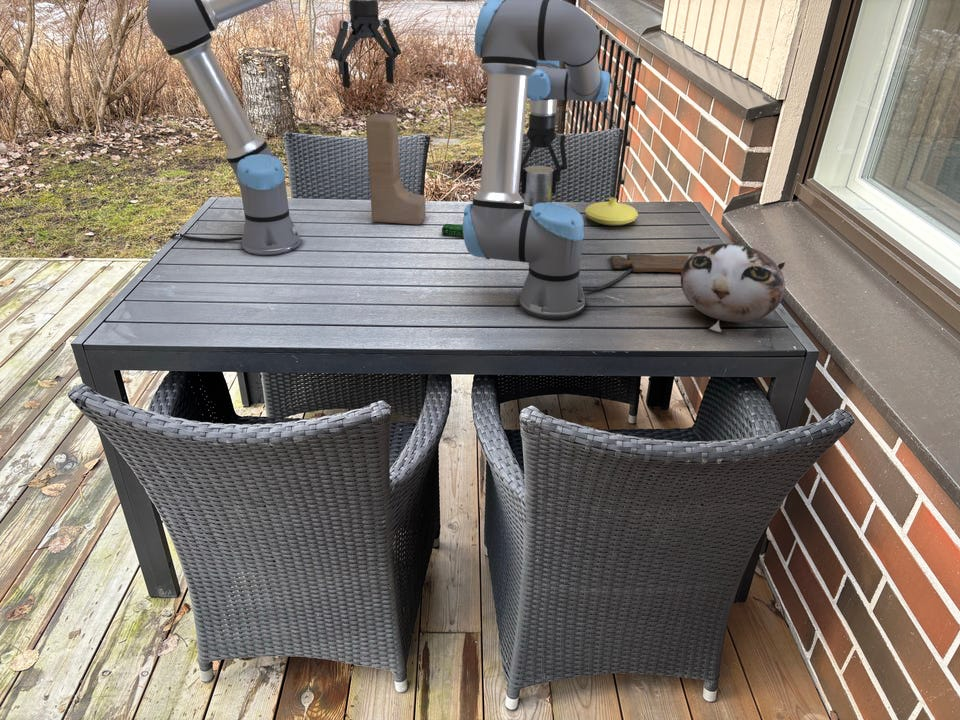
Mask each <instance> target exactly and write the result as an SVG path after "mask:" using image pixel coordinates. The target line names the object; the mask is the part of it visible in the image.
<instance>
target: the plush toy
mask: <svg viewBox="0 0 960 720" xmlns="http://www.w3.org/2000/svg"><path fill="white" fill-rule="evenodd" d="M785 265H786V262H780V263H778V264H777V263H776V262H775V261H774V260H773V259H772V258H771V257H770V256H768V255H767V254H765V253H764V252H762V251H761V250H759V249H756V248H754V247H750V246H749V245H748V246H747V245H744V244H738V243H719V244H718V243H717V244H713V245H710V246H707V247H704V248H701V247H700V246H697V248H696V252H695V253H693V255H691V256H689V257H688V261H687V262H686V263H685V265H684V267H683V269H682V273H681V272H680V286H681V290H682V293H683V294H684V296H685V298H686V300H687V301H688V302H689V303H690V304H691V306H693V307H694V308H695V309H696V310H697V311H699V312H701V313H702V314H704V315H706V316H708V317H709V318H712V319H715V320H717V322H716V323H715V324H714V325H713V326H710V327H709V328H708V329H709V330H711V331H713V332H718V333H722V332H723V330H722V329H721V327H720V321H721V322H728V323H747V322H752V321H757V320H759V319H762V318H764V317H766V316H768V315H769V314H771V313H773V311H775V310H776V309H777V308H778V307H779V305H780V304H781V302H782V301H783V298H784V297H785V293H786V280H785V277H784V274H783V272H782V269H783V268H784V266H785Z"/></svg>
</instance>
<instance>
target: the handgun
mask: <svg viewBox="0 0 960 720" xmlns="http://www.w3.org/2000/svg"><path fill="white" fill-rule="evenodd" d="M441 235H446V236H454V237H462V238H464V235H463V225H459V224H453V223H445V224H443V226H442V227H441Z"/></svg>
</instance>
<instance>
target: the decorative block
mask: <svg viewBox="0 0 960 720" xmlns="http://www.w3.org/2000/svg"><path fill="white" fill-rule="evenodd" d="M397 116H398V115H396V114H390V113H389V114H387V113H372V114H371V115H369V116H368V117H367V118H366V119H365V131H366V134H365V135H366V147H367V161H368V163H367V164H368V177H369V193H370V209H371V221H372V222H374V223H387V224H404V225H417V226H418V225H422V223H423V221H424V220H425V218H426V197H425V195H423V194H418V193H414V192H410V191H409V190H407V189H406V188H405V186H404V184H403V182H402V180H401V175H400V151H399V127H398V126H399V125H398V117H397Z"/></svg>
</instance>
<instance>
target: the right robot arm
mask: <svg viewBox="0 0 960 720" xmlns="http://www.w3.org/2000/svg"><path fill="white" fill-rule="evenodd" d="M474 30H475V31H474V41H473V42H474V53H475V55H476V57H477V58H479V59H481V67H482V69H483V70H484V71H485V72H486V74H487V88H486V101H485V102H486V103H485V115H484V116H485V117H484V132H483V143H482V145H483V146H482V158H481V159H482V160H481V174H480V186H479V188H480V189H479V191H478V192H476V194H474V195H473V196H472V203H470V204H467V205H466V206H465V207H464V210H463V218H462V226H463V235H464V237H463V241H464V245H465V248H466V250H467V252H468V253H469V254H470V255H471V256H473V257H476V258H483V259H486V260H491V259H493V260H498V261H499V260H500V261H507V262H508V261H510V262H516V263H517V262H519V263H527V264H528V273H527V275H526V278H525V281H524V283H523V286H522V288H521V291H520V293H519V295H518V296H519V297H518V298H519V299H518V306H519V307H520V309H521V310H522V311H523V312H524V313H526V314H528V315H529V316H532V317H535V318H538V319H543V320H557V321H558V320H559V321H560V320H566V319H567V320H568V319H572V318H574V317H576V316H579V315H581V314H582V313H583V312H584V310H585V305H586V298H585V293H586V292H589V293H590V292H591V293H592V292H598V291H602V290H604V289H606V288H608V287H610V286H612V285H614V284H615V283H618V282H620V281H621V280H622V279H624V278H625V277H626V276H627V275H628V274H630V273H632V272H633V268H632V267H631V268H628V269H627V270H626V271H625V272H623V273H622V274H620V276H618V277H616V278H614V279H613V280H611V281H610V282H608V283H605V284H603V285H601V286H597V287H585V288H584V287H583V285H582V282H581V277H580V275H581V274H580V273H581V263H582V251H583V241H584V239H585V233H584V229H585V228H584V226H585V225H584V224H585V221H584V218H583V216H582V214H581V213H580V212H579V211H577V210H576V209H575V208H572V207H570V206H568V205H565V204H561V203H558V202H557V203H556V202H552V203H550V202H546V203H538V204H535V205H534V206H533V207H531V209H525V204H524V202H525V201H524V197H522V196H521V194H524V185H525V166H526V164H527V163H528V161H529V158H530V157H531V155H532V153H533V151H534V150H535V149H536V148H537V149H539V148H544V149H546V148H547V150H548V152H549V155H550V156H551V159H552V162H553V164H554V167H555V168H553V169H554V178H553V193H552V195H556V190H557V183H559V182H560V181H561V174H562V173H561V172H562V171H564V170H565V171H566V170H567V169H568V163H567V155H566V146H565V142H566V135H565V133H563V132H562V133H557V132H556V122H557V121H556V120H557V115H556V113H557V108H558V107H557V106H558V104H557V103H558V100H560V101H577V102H590V103H604V102H606V101H608V97H609V94H610V93H609V92H610V83H611V74H610V72H608V71H607V70H605V71H604V70H601V69H600V65H599V64H600V63H599V57H598V53H599V50H600V45H601V39H600V33H599V29H598V28H597V25H596V24H595V22H594V21H593V19H592V18H591V16H589V15H588V14H587V13H586V12H585V11H584V10H582V9H581V8H579V7H578V6H577V5H574V4H573V3H571V2H568V1H566V0H486V1H485V2H484V3H483V4H482V7H481V9H480V11H479V14H478V15H477V19H476V25H475V29H474ZM560 62H561V63H562V64H564V66H565V68H560ZM527 100H529V115H528V129H527V131H526V132H524V131H525V122H526V121H525V119H526V110H527V109H526V108H527ZM526 138H527V139H528V141H529V142H530V143H529V144H528V147H527V148H526V150H525V153H524V154H523V144H524V142H525V141H526ZM555 139H557V142H558V143H559V150H560V157H561V164H560V162H559V161H558V157H557V155H556V152H555V149H554V147H553V145H552V143H553V141H554V140H555ZM522 156H523V157H522ZM520 182H521V185H520ZM520 186H521V187H520ZM520 193H521V194H520ZM584 292H585V293H584Z"/></svg>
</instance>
